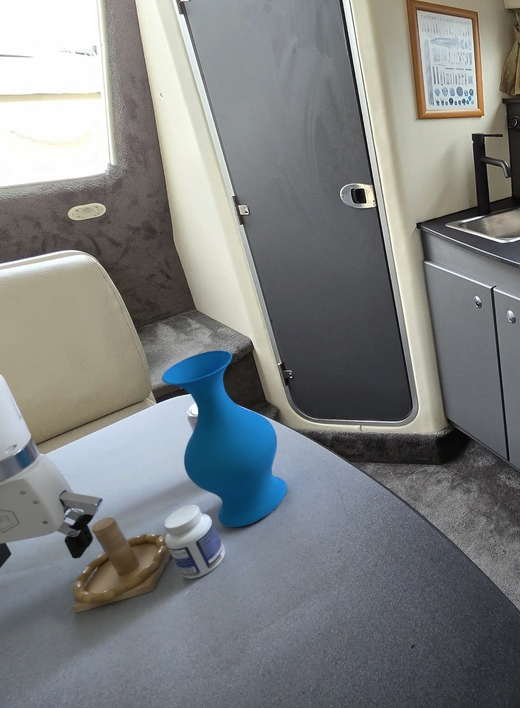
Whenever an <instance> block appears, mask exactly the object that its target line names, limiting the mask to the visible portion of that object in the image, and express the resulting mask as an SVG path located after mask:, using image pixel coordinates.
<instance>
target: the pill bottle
mask: <svg viewBox="0 0 520 708" xmlns="http://www.w3.org/2000/svg"><path fill="white" fill-rule="evenodd" d="M164 529H165V530H166V531H165V532H166V535H165V536H166V538H165V543H166V545H167V547H168V549H169V551H170V553H171V557H172V559H173V560H174V562H175V564H176V566H177V568H178V569H179V571H180V573H181V576H183V577H184V578H186V579H190V580H191V579H197V578H201V577H203V576H204V575H207V574H209V573H210V572H211V571H213V570H214V569H216V568H217V567H218V566H219V565H220V564H221V563H222V561H223V560H224V558H225V555H226V548H225V546H224V544H223V541H222V540H221V536H220V535H219V533H218V531H217V529H216V526H215V524H214V522H213V520H212V518H211V517H210V516H209V514H206V513H202V511H201V509H200V508H199V506H198V505H196V504H189V505H184V506H182V507H179V508H178V509H176V510H175V511H173V512H172V513H170V514H169V515H168V516H167V517H166V519H165V520H164Z"/></svg>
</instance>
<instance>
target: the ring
mask: <svg viewBox="0 0 520 708" xmlns="http://www.w3.org/2000/svg"><path fill="white" fill-rule="evenodd" d="M165 536H166V535H162V534H157V533H152V532H148V533H145V534H139V535H136V536H133V537H129V538H126V539H127V541H128V543H129V545H130V546H133V545H137V544H141V543H145V542H149V543H154V544H156V545H157V548H158V551H157V553H156V555H155V557H154V558H153V560H152V562H151V563H150V564H149V565H148V566H146V567H145V568H144V569H143V570H142V571H141V572H140V573H139V574H138V575H137V576H135V577H134V578H132V579H130V580H128V581H127V582H125V583H123V584H121V585H120V586H118V587H116V588H114V589H110V590H107V591H103V592H100V593H91V592H87V591H86V588H85V587H86V583H87V582H88V581H89V578H91V575H93V572H95V571H96V570H97V568H98V567H99V566H100V565H101V564H102V563H103V562H105V561H106V560H107V559H108V557H107V555H106V553H105V552H104V551H103V552H102V553H100V554H99V555H98V556H97V557H95V558H94V559H93V560H92V561H91V562H90V563H88V564H87V565H86V566H85V567H84V568H83V569H82V571H81V572H80V574H78V577H77V578H76V580H75V581H74V583H73V584H72V593H73V595H72V596H73V600H74V602H76V601H79V602H83V603H88V604H95V603H98V602H102V601H105V600H109V599H112V598H115V597H118V596H119V595H121V594H123V593H124V592H126V591H128V590H130V589H131V588H133V587H135V586H136V585H138V584H140V583H141V582H142V581H144V580H145V579H146V578H147V577H148V576H149V575H150V574H151V573H152V572H153V571H154V570H155V569H156V568H158V567H159V566H160V564H161V562H162V561H163V559H164V557H165V555H166V553H167V551H168V547H167V545H166V543H165V538H166V537H165Z"/></svg>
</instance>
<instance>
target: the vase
mask: <svg viewBox="0 0 520 708" xmlns="http://www.w3.org/2000/svg"><path fill="white" fill-rule="evenodd" d="M232 359H233V354H232V353H231V352H230V351H227V350H209V351H205V352H201V353H197V354H195V355H192V356H189V357H186V358H184V359H182V360H180V361H178V362H176V363H174V364H173V365H172V366H170V367H169V368H168V369H166V370H165V372H164V373H163V374H162V377H161V380H162V382H163V383H164V384H167V385H171V386H176V387H178V388H181V389H184V390H185V391H186V392H187V393H189V394H190V396H191V397H192V399H193V401H194V404H195V403H196V406H197V410H198V417H197V423H196V426H195V429H194V431H193V430H192V433H191V436H190V438H189V439H188V442H187V444H186V447H185V450H184V455H183V464H184V470H185V472H186V475H187V477H188V478H189V479H190V480H191V482H193V484H194V485H196V486H197V487H198V488H200V489H202V490H204V491H206V492H208V493H211V494H213V495H215V496H217V497H218V498H219V499H220V500H221V502H222V503H221V506H220V507H219V510H218V521H219V523H220V524H221V525H223V526H224V527H228V528H239V527H244V526H247V525H250V524H253V523H255V522H257V521H260V520H261V519H263V518H265V517H266V516H267V515H269V514H270V513H271V512H272V511H274V510H275V509H276V508H277V507H278V506H279V504H280V503H281V502H282V501H283V500H284V498H285V496H286V493H287V489H288V485H287V483H286V481H285V480H283V478H280V477H278V476H274V474H273V473H272V470H273V464H274V460H275V457H276V454H277V448H278V439H277V438H278V437H277V433H276V430H275V428H274V426H273V424H272V423H271V422H270V421H269V420H268V419H267V418H266V417H264V416H263V415H261V414H260V413H258V412H255V411H253V410H250V409H247V408H245V407H242V406H240V405H238V404H237V403H236V402H234V400H232V399H231V398H230V397H229V395H228V394H227V391H226V389H225V385H224V374H225V371H226V369H227V367H228V366H229V365H230V363H231V361H232Z"/></svg>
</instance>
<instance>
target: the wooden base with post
mask: <svg viewBox="0 0 520 708" xmlns="http://www.w3.org/2000/svg"><path fill="white" fill-rule="evenodd" d="M91 532H92V533H93V535H94V537H95V538H96V540H97V541H98V543H99V545H100V547H101V548H102V550H103V552H105V553H106V555H107V557H108V559H107V560H106V561H105V562H103V563H102V564H101V565H100V566H99V567H98V568H96V569H95V570H94V573H92V576H90V579H88V581H87V582H86V583H87V584H85V588H86V591H87V592H91V593H100V592H103V591H107V590H110V589H114V588H116V587H118V586H120V585H121V584H123V583H125V582H127V581H128V580H130V579H132V578H134V577H135V576H137V575H138V574H139V573H140V572H141V571H142V570H143V569H144V568H145V567H146V566H148V565H149V564H150V563H151V562H152V560H153V558H154V557H155V555H156V553H157V551H158V548H157V545H156V544H154V543H149V542H145V543H141V544H137V545H133V546H130V545H129V543H128V541H127V539H128V538H126V536H125V533H124V532H123V530H122V529H121V527H120V525H119V524H118V522H117V520H116V518H115V517H114V516H107V517H103V518H102V519H100V520H98V521H97V522H95V523H94V524H93V525H92V527H91ZM164 536H165V537H166V535H164ZM171 557H172V555H171V553H170V551H169V549H168V551H167V553H166V555H165V557H164V559H163V561H162V562H161V564H160V566H159V567H158V568H156V569H155V570H154V571H153V572H152V573H151V574H150V575H149V576H148V577H147V578H146V579H145V580H144V581H142V582H141V583H140V584H138V585H136V586H135V587H133V588H131V589H130V590H128V591H126V592H124V593H123V594H121V595H119V596H118V597H115V598H112V599H109V600H105V601H102V602H98V603H95V604H88V603H83V602H79V601H74V604H73V605H72V606H71V608H72V610H73V612H74V613H75V614H78V613H81V612H85V611H87V610H91V609H95V608H97V607H101V606H105V605H108V604H112V603H115V602H118V601H122V600H125V599H129V598H133V597H136V596H139V595H143V594H146V593H150V592H153V591H154V590H155V588H156V586H157V584H158V583H159V580H160V578H161V576H162V574H163V573H164V570H165V569H166V566H167V564H168V562H169V561H170V559H171Z"/></svg>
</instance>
